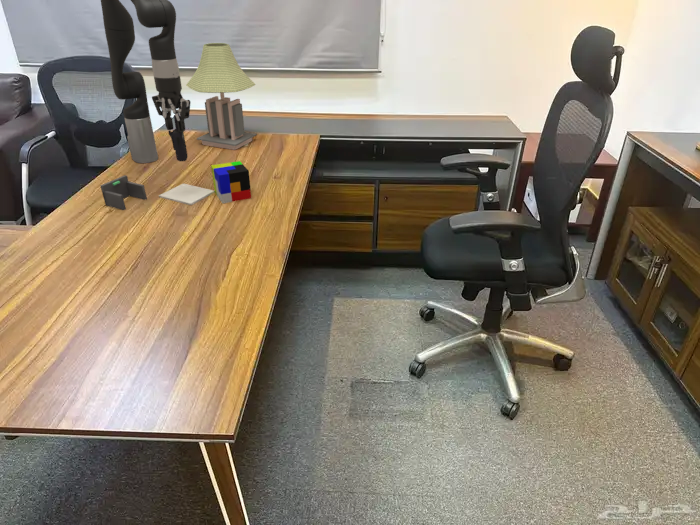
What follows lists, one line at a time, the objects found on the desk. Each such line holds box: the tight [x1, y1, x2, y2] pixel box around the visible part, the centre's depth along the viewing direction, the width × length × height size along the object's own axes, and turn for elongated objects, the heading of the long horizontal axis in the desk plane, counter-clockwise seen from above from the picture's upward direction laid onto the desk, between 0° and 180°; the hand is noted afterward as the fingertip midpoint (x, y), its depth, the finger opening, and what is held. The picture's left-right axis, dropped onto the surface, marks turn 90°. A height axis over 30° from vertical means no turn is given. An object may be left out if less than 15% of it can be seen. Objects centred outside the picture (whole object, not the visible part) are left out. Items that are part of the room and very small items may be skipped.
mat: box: [158, 183, 215, 206], centre depth 168 cm, size 14×12×1 cm
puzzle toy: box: [210, 160, 252, 204], centre depth 166 cm, size 10×10×10 cm
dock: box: [99, 175, 148, 211], centre depth 161 cm, size 8×10×7 cm
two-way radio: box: [167, 114, 188, 162], centre depth 158 cm, size 6×4×15 cm
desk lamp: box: [185, 42, 258, 151], centre depth 206 cm, size 26×28×40 cm
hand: (176, 130), depth 157 cm, fingers closed on two-way radio, 4 cm apart
